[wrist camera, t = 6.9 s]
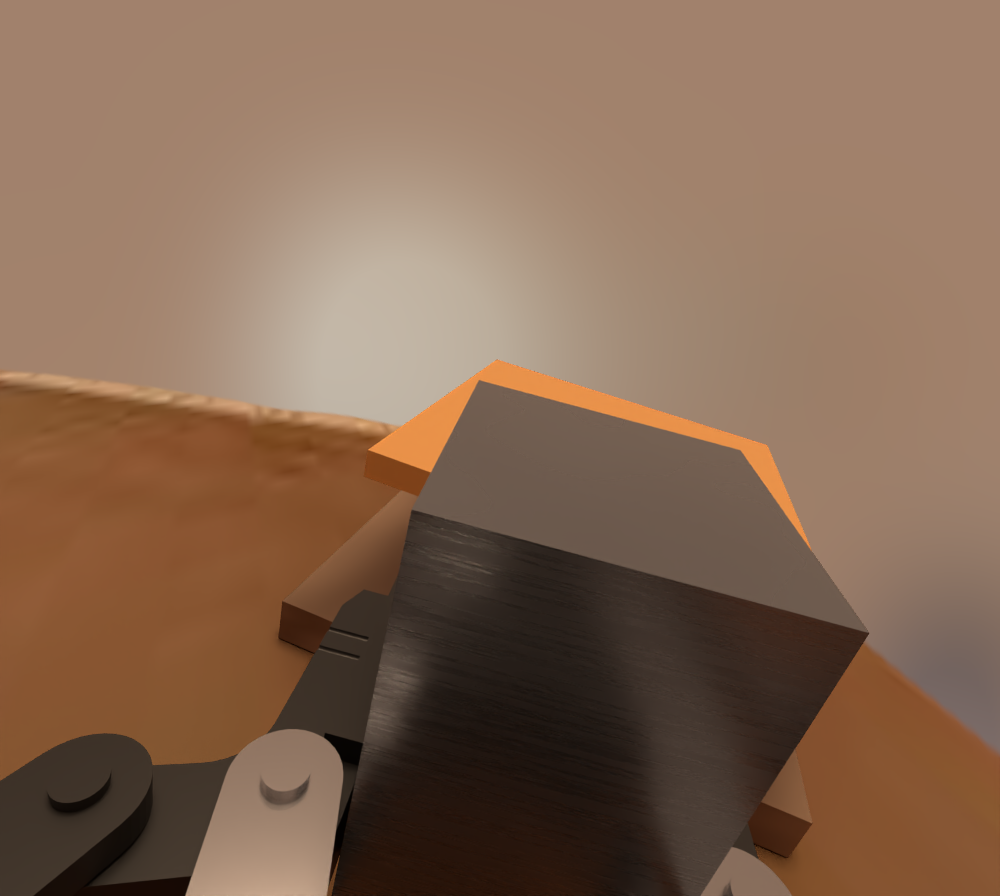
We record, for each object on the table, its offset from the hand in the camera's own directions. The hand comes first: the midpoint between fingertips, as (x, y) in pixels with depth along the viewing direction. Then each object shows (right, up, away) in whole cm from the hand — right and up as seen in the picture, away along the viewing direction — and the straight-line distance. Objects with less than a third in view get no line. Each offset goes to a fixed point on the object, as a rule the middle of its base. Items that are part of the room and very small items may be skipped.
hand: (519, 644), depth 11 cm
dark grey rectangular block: (-2, -7, 0) cm, 8 cm away
